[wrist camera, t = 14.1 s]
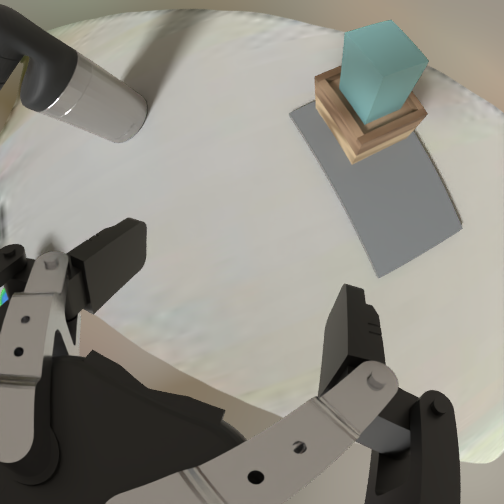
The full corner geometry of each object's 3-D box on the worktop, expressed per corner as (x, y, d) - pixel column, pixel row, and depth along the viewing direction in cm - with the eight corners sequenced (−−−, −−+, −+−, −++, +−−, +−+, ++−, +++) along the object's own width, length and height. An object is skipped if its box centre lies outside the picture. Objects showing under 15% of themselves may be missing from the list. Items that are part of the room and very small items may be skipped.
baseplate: (289, 116, 35) (288, 113, 34) (373, 79, 32) (374, 75, 31) (377, 277, 34) (378, 278, 33) (459, 228, 31) (462, 228, 30)
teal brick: (339, 88, 26) (344, 32, 16) (374, 74, 25) (391, 19, 15) (364, 124, 26) (383, 76, 16) (400, 109, 25) (429, 61, 15)
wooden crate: (315, 107, 33) (314, 76, 25) (370, 84, 31) (380, 51, 23) (351, 164, 33) (361, 144, 25) (407, 137, 31) (427, 113, 23)
